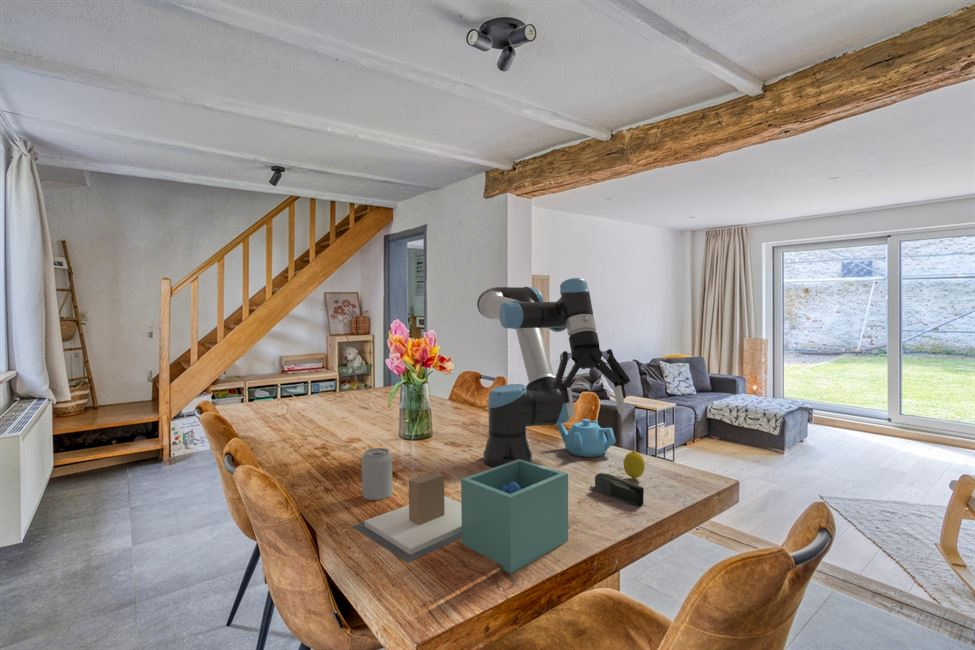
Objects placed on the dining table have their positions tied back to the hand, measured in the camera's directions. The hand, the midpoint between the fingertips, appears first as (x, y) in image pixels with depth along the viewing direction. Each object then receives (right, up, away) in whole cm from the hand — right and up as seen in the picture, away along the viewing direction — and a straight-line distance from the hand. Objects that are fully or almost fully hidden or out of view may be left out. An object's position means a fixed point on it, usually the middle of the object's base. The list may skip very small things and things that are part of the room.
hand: (597, 414), depth 120 cm
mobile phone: (+5, -22, +1) cm, 22 cm away
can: (-55, -22, +2) cm, 60 cm away
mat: (-41, -22, -14) cm, 49 cm away
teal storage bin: (-22, -22, -22) cm, 38 cm away
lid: (-41, -21, -14) cm, 48 cm away
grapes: (-22, -22, -22) cm, 38 cm away
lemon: (+13, -21, +13) cm, 28 cm away
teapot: (+5, -20, +39) cm, 44 cm away
